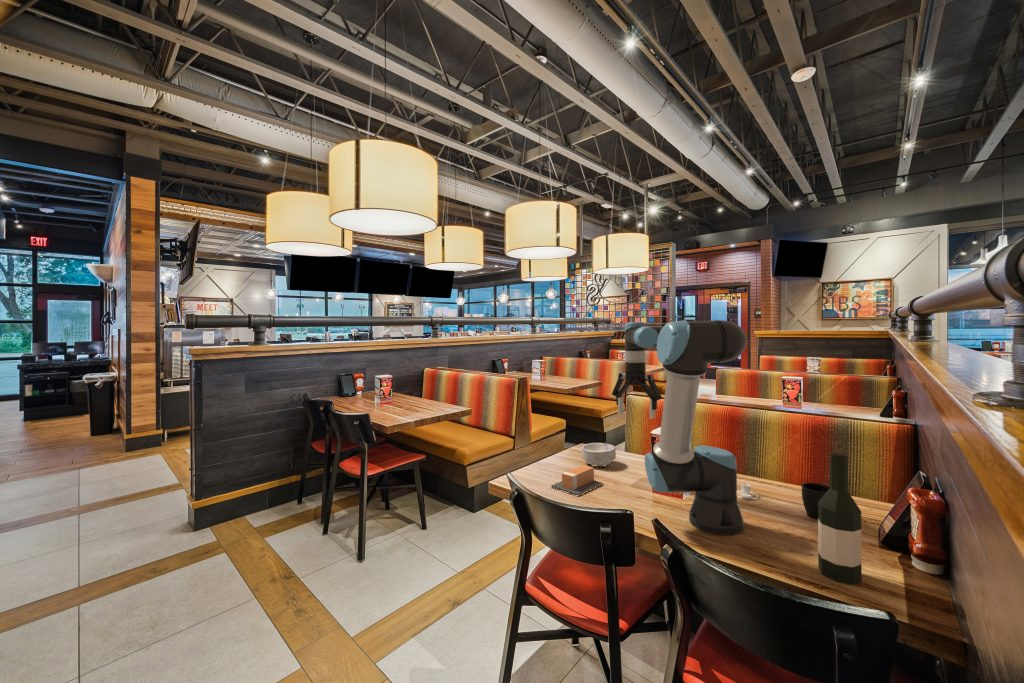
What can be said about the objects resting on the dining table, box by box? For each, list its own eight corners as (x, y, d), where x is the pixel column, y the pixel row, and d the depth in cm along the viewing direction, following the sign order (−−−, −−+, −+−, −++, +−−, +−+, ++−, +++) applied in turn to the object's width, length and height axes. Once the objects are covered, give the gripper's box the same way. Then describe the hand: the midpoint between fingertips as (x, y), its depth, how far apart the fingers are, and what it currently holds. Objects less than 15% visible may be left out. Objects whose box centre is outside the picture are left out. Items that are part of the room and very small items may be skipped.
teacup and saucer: (751, 503, 146) (751, 491, 145) (728, 496, 152) (728, 484, 152) (762, 496, 151) (762, 485, 151) (740, 490, 157) (740, 479, 157)
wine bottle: (858, 589, 96) (858, 459, 95) (814, 574, 102) (813, 452, 101) (864, 574, 102) (863, 451, 101) (821, 561, 108) (821, 445, 107)
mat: (602, 484, 165) (602, 482, 165) (578, 496, 153) (578, 494, 153) (576, 477, 174) (576, 475, 174) (550, 487, 163) (550, 485, 163)
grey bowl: (575, 461, 194) (574, 444, 194) (602, 457, 200) (602, 440, 200) (594, 471, 180) (593, 453, 180) (623, 466, 186) (622, 448, 186)
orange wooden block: (593, 467, 168) (572, 476, 158) (594, 480, 168) (572, 490, 158) (583, 464, 171) (561, 473, 161) (583, 477, 171) (562, 486, 161)
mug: (841, 530, 124) (841, 498, 124) (796, 515, 134) (796, 485, 134) (853, 523, 128) (853, 492, 128) (809, 509, 139) (809, 480, 138)
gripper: (670, 362, 158) (671, 418, 158) (612, 360, 176) (613, 410, 176) (661, 363, 153) (662, 421, 153) (602, 361, 171) (603, 413, 171)
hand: (636, 415), depth 165 cm, fingers open, 13 cm apart
